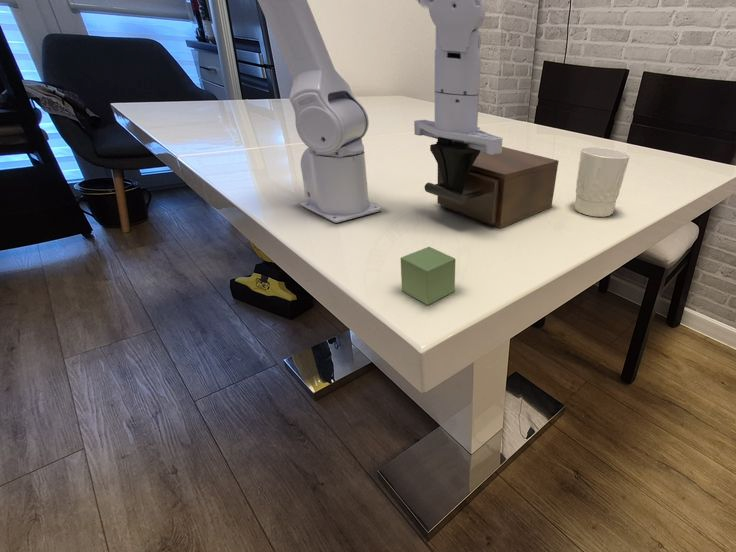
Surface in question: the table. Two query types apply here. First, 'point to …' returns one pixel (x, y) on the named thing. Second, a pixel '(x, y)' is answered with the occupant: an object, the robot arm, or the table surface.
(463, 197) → the drawer
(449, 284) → the block
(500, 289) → the table surface
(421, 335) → the table surface
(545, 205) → the cabinet
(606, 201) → the white cup
